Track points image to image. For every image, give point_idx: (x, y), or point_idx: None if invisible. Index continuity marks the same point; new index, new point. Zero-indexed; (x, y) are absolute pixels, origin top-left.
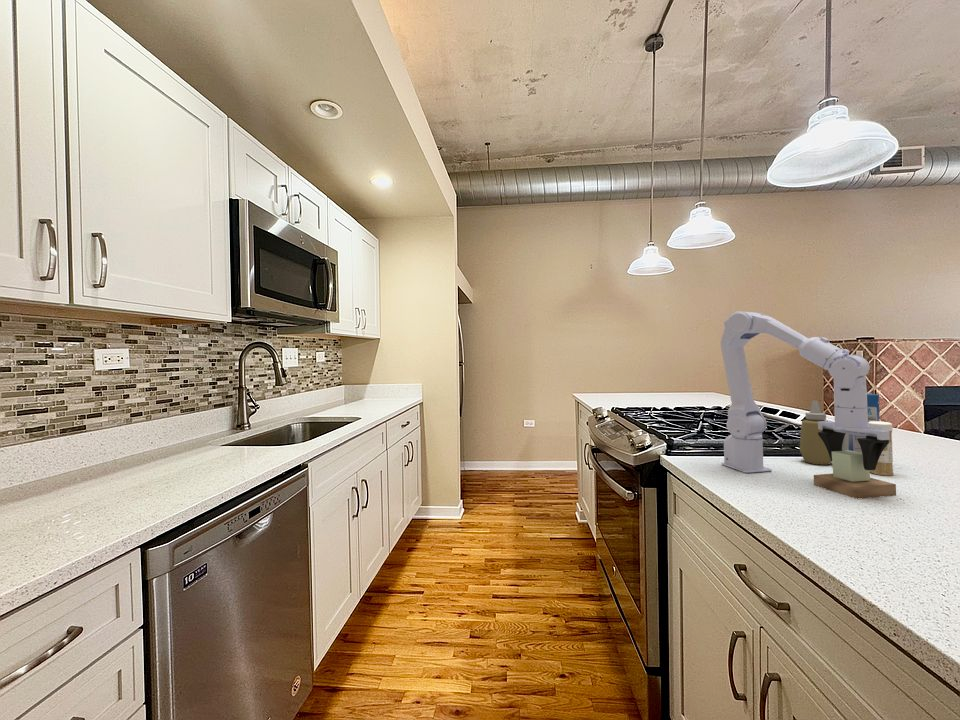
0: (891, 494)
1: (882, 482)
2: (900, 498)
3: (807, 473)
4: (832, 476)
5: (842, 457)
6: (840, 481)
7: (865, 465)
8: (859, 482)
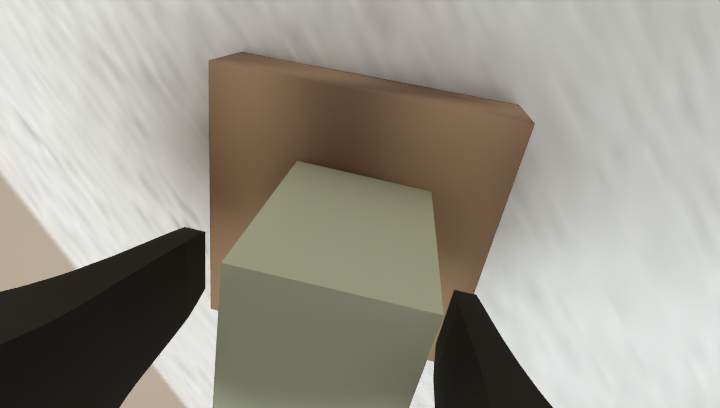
0: None
1: None
2: None
3: (670, 319)
4: (440, 197)
5: (321, 258)
6: (340, 114)
7: (169, 239)
8: None
